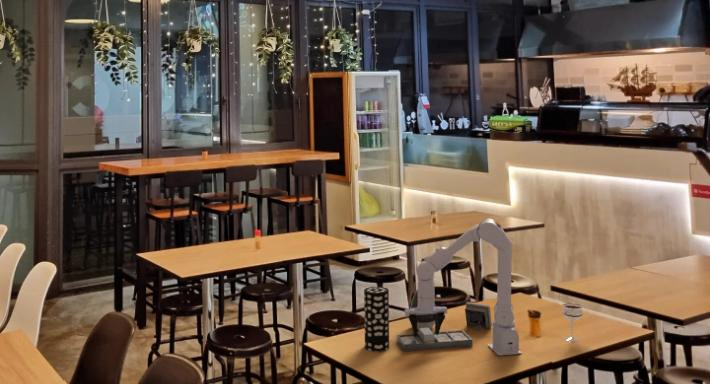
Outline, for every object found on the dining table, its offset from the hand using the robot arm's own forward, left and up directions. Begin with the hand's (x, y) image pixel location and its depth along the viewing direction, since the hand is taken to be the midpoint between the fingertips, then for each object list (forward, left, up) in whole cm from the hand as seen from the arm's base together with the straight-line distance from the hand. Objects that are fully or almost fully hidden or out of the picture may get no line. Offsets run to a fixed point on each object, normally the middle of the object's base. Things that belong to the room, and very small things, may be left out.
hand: (426, 334), depth 212 cm
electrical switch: (+13, -24, -4) cm, 27 cm away
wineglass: (-6, -51, -4) cm, 51 cm away
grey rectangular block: (0, 0, -3) cm, 3 cm away
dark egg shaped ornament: (+17, -4, -4) cm, 18 cm away
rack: (0, -3, -3) cm, 4 cm away
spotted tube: (+1, +17, -4) cm, 18 cm away
